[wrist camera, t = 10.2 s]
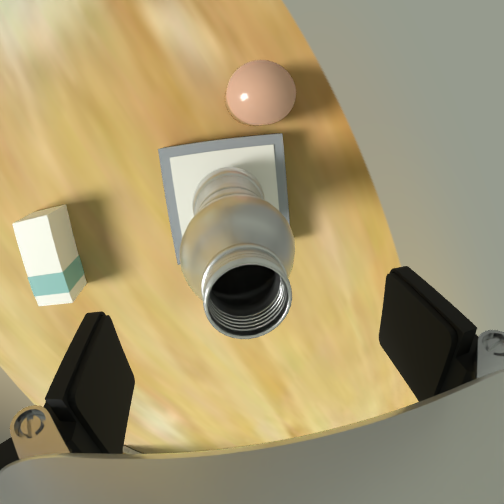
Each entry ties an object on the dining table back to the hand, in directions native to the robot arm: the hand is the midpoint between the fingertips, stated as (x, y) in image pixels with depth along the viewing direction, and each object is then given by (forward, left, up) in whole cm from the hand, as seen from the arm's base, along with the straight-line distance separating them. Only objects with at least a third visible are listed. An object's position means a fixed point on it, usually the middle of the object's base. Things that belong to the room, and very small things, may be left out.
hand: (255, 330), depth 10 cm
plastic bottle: (0, 0, -23) cm, 23 cm away
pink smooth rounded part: (-9, +4, -26) cm, 28 cm away
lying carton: (+4, -21, -26) cm, 33 cm away
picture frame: (+1, 0, -26) cm, 26 cm away
